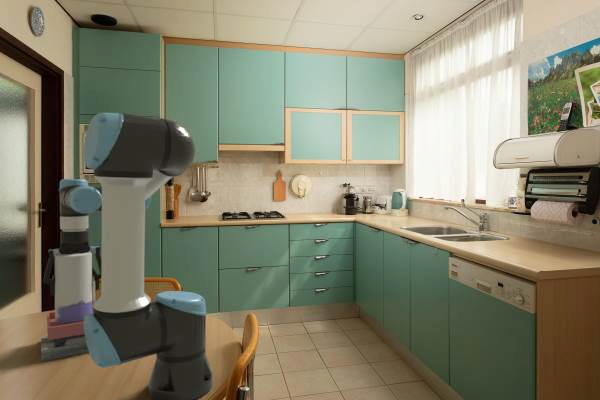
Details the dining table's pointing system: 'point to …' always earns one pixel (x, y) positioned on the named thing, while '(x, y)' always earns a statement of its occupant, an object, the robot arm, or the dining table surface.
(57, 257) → the container
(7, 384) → the dining table surface
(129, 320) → the robot arm
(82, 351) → the track
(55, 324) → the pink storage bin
